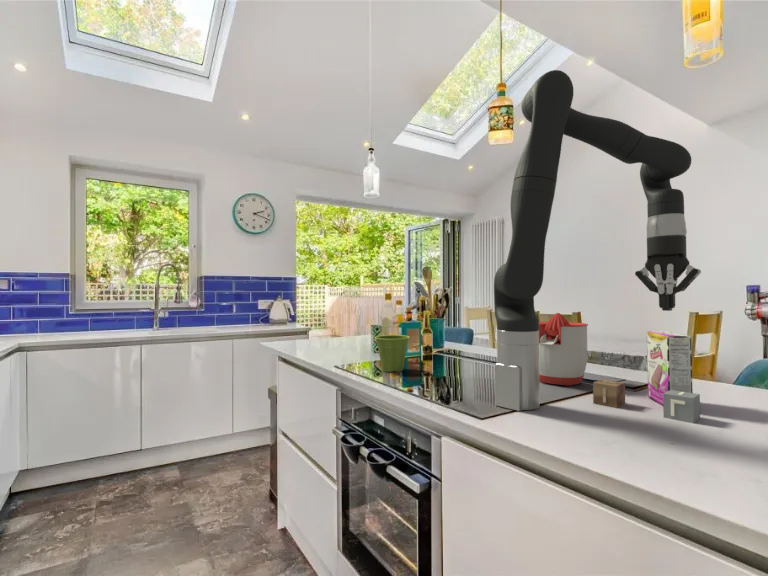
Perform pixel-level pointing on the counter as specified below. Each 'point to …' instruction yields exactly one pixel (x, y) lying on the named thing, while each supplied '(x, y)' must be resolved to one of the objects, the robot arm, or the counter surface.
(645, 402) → the counter surface
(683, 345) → the candy bar box
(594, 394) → the walnut digit cube
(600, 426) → the counter surface
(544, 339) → the citrus juicer
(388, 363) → the plant pot
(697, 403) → the slate digit cube
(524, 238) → the robot arm
